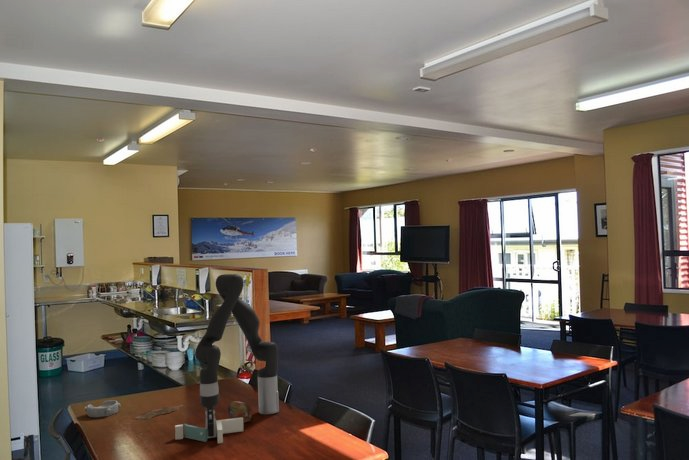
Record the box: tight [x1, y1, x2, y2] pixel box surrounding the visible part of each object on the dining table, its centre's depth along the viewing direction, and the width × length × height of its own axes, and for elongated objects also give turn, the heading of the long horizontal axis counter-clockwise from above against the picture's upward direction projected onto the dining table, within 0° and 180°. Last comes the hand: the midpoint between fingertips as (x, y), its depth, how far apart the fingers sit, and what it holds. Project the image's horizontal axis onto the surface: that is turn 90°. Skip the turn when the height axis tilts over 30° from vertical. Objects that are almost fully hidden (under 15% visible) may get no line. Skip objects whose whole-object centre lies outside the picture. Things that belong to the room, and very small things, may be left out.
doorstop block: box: [205, 417, 217, 439], centre depth 221 cm, size 4×4×7 cm
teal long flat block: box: [183, 423, 208, 443], centre depth 220 cm, size 13×2×5 cm, turn 60°
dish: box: [84, 399, 122, 418], centre depth 261 cm, size 14×14×5 cm
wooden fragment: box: [134, 404, 184, 420], centre depth 260 cm, size 26×11×1 cm, turn 137°
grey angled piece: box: [174, 417, 244, 444], centre depth 221 cm, size 28×13×5 cm, turn 106°
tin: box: [227, 400, 253, 424], centre depth 244 cm, size 15×3×8 cm, turn 47°
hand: (210, 434), depth 221 cm, fingers closed on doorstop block, 4 cm apart
